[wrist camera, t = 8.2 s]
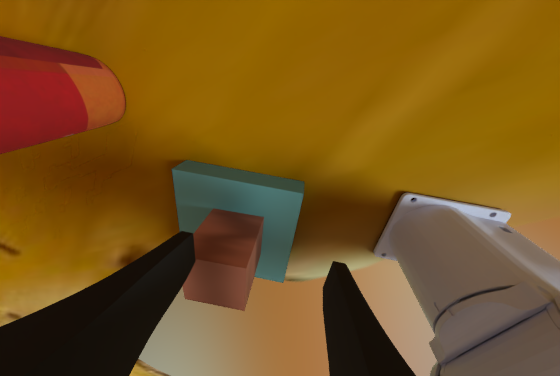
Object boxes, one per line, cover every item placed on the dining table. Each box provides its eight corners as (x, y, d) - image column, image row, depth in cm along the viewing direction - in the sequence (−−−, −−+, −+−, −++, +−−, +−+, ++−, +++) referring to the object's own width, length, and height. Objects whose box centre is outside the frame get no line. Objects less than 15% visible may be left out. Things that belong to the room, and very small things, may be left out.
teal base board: (304, 179, 20) (303, 193, 17) (285, 262, 25) (283, 282, 23) (189, 158, 20) (171, 168, 18) (196, 244, 26) (183, 261, 23)
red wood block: (263, 217, 19) (246, 268, 13) (260, 254, 21) (244, 310, 16) (213, 208, 19) (176, 255, 14) (215, 246, 21) (184, 298, 16)
